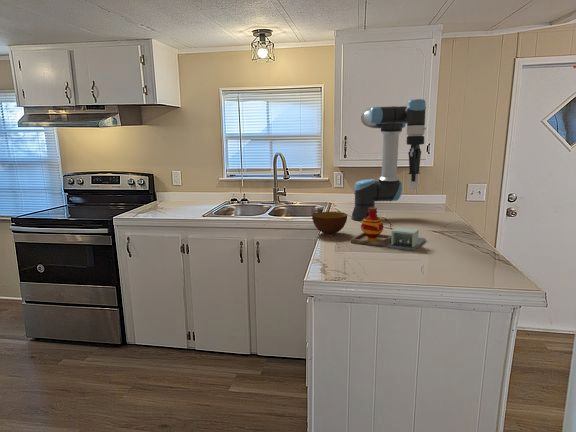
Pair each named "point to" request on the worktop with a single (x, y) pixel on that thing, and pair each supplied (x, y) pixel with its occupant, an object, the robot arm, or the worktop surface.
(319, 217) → the bowl
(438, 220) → the worktop surface
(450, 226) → the worktop surface
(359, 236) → the tray
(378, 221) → the potion bottle
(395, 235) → the block
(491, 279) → the worktop surface
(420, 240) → the stub plate
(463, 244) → the worktop surface
